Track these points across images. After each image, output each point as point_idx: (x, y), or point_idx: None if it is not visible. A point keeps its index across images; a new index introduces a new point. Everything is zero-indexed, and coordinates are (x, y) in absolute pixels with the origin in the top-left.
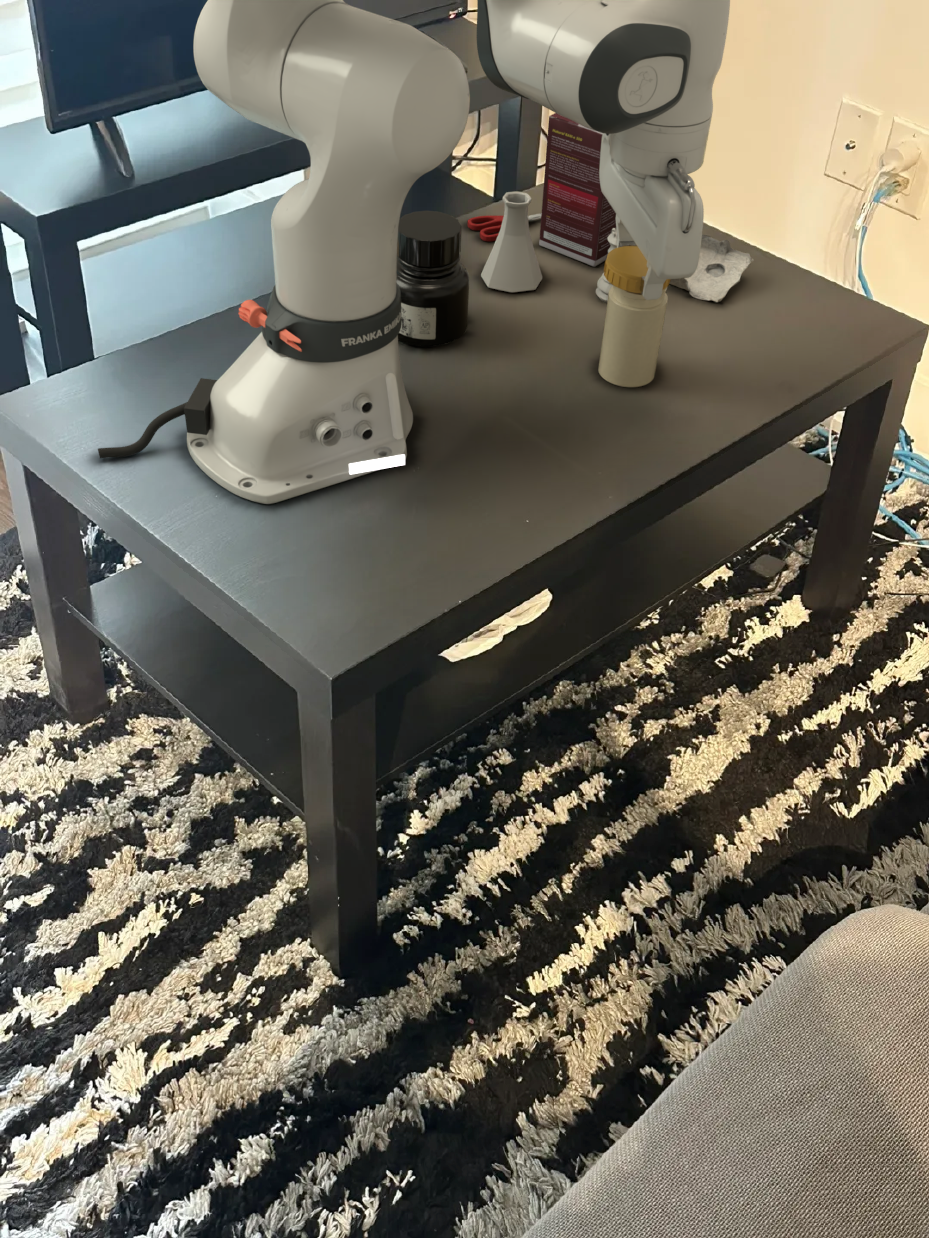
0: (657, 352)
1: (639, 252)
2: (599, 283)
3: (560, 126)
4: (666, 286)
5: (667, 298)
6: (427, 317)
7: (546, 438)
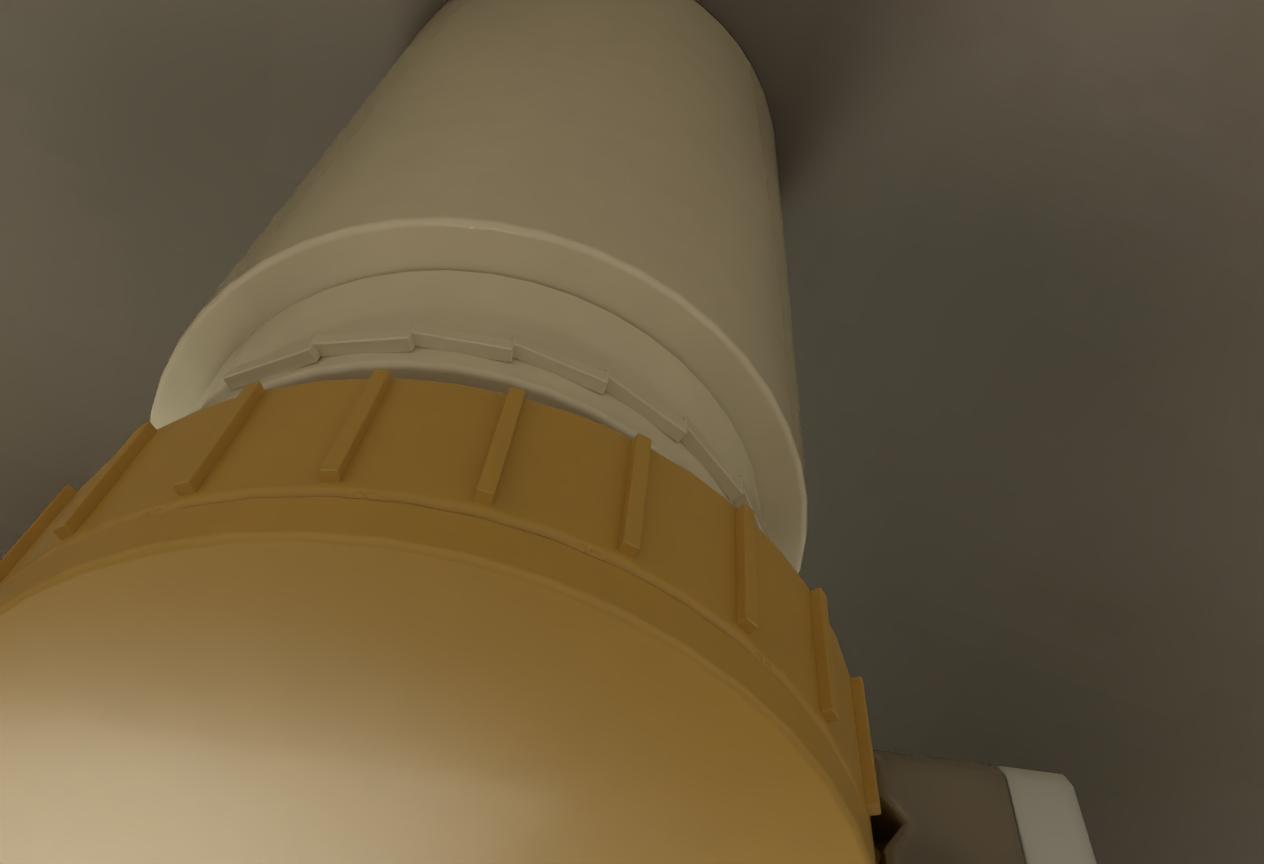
0: (725, 103)
1: (90, 840)
2: None
3: None
4: (766, 547)
5: (607, 259)
6: None
7: (1019, 749)
